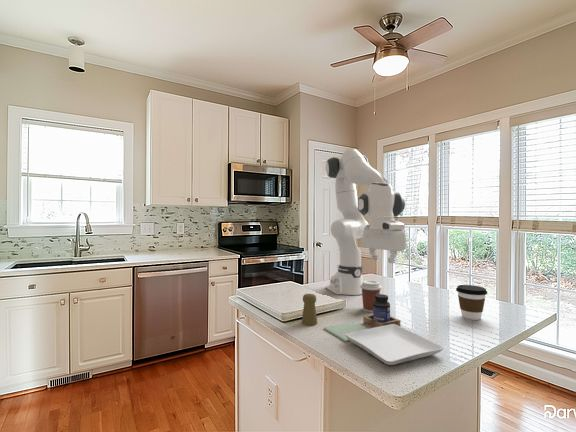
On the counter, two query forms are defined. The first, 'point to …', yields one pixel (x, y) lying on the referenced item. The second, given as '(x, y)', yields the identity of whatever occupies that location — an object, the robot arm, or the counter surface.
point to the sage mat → (344, 329)
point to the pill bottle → (381, 308)
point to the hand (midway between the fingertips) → (382, 261)
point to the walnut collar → (374, 323)
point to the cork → (309, 310)
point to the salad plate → (393, 344)
